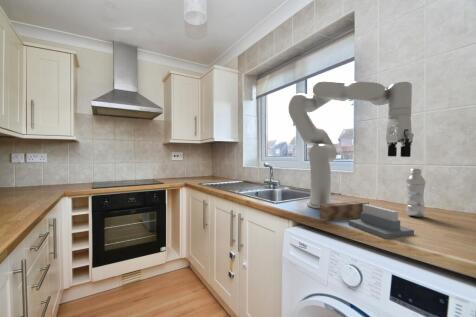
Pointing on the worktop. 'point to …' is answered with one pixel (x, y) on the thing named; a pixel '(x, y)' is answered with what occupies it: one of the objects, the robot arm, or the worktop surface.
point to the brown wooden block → (341, 210)
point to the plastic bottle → (415, 194)
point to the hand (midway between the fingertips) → (398, 156)
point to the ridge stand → (381, 222)
